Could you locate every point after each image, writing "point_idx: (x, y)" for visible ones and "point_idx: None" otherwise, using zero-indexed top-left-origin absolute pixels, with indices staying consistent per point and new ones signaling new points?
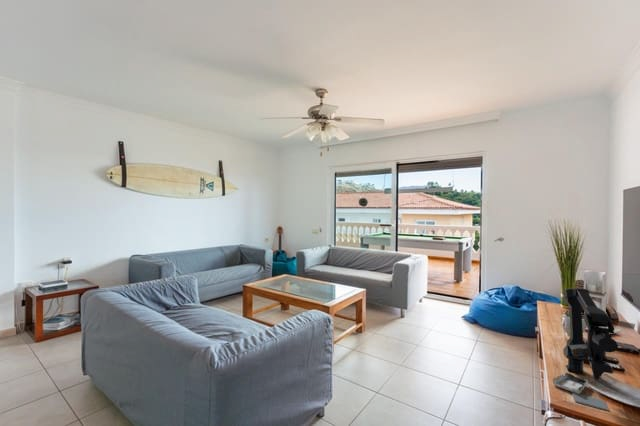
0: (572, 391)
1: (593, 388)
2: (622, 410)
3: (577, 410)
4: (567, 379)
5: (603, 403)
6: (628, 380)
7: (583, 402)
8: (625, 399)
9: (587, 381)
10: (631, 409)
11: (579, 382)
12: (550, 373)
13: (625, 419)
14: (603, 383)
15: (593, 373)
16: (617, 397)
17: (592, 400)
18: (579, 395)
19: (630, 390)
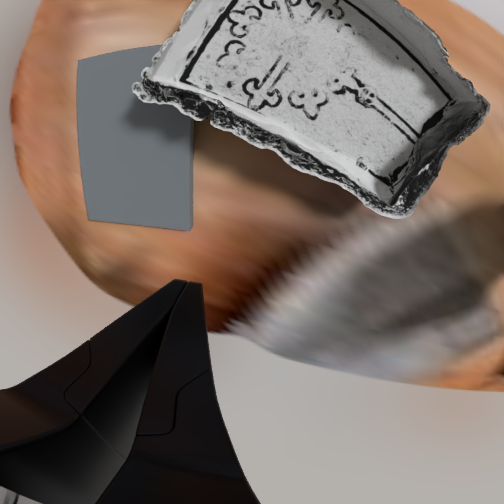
0: (193, 45)
1: (372, 230)
2: (152, 283)
3: (22, 77)
4: (444, 95)
5: (143, 215)
6: (459, 379)
7: (80, 102)
8: (294, 338)
9: (380, 213)
10: None
11: (413, 160)
12: (478, 20)
13: (77, 260)
14: (441, 304)
15: (128, 322)
16: (300, 315)
17: (139, 159)
18: None
19: (392, 373)
